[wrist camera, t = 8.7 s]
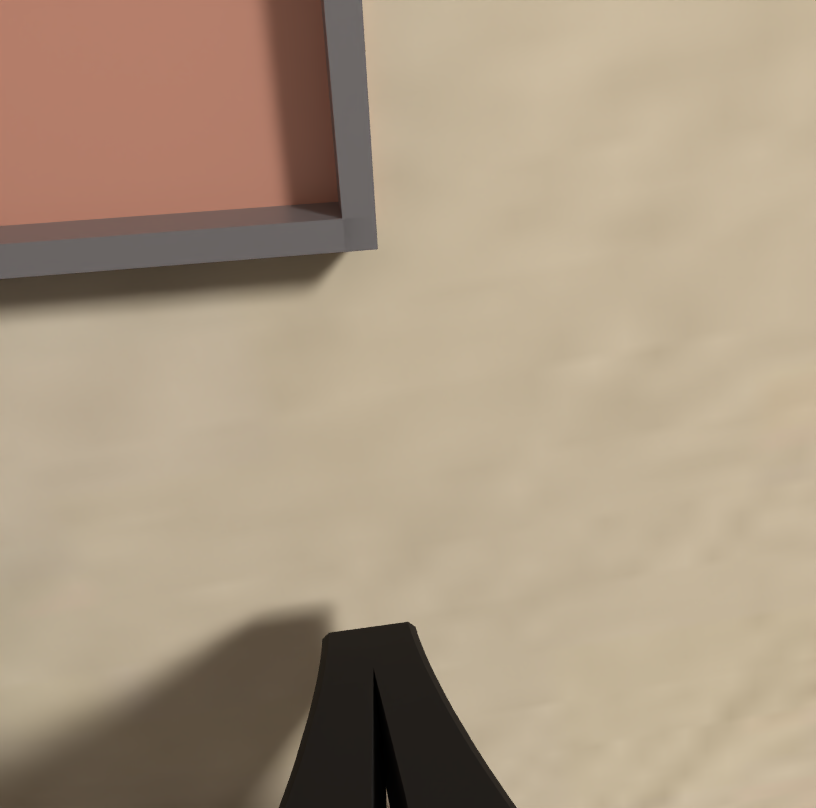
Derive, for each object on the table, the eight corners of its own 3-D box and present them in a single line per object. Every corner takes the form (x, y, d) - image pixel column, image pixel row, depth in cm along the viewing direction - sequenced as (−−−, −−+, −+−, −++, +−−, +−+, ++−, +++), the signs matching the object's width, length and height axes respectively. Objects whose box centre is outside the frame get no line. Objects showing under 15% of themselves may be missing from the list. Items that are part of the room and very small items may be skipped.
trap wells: (418, 938, 18) (425, 993, 17) (141, 987, 18) (131, 1048, 17) (332, -316, 7) (337, -378, 6) (-432, -317, 6) (-575, -386, 5)
